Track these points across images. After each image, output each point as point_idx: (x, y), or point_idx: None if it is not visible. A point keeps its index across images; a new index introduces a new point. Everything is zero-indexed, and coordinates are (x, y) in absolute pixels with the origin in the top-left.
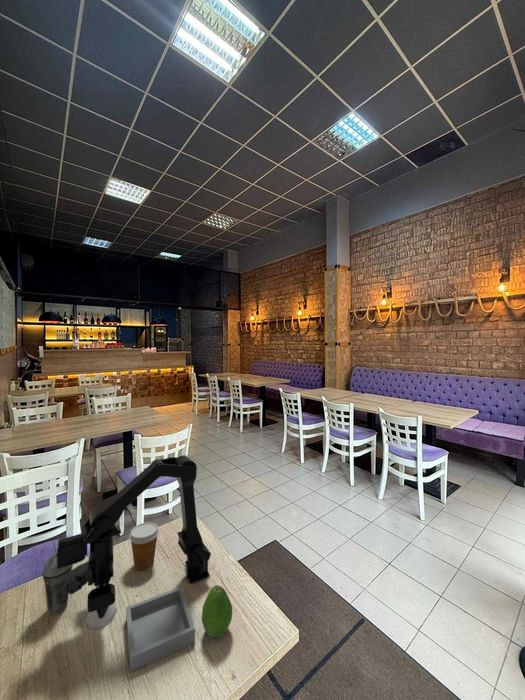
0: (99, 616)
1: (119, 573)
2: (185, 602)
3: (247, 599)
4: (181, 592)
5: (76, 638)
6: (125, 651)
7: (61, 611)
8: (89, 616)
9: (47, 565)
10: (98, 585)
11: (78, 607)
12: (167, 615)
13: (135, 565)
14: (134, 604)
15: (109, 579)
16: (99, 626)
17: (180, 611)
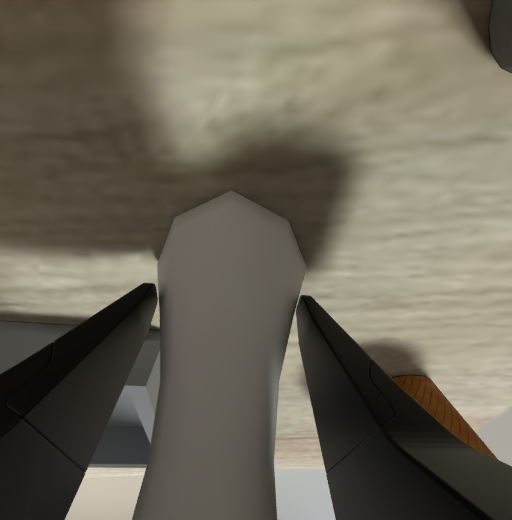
0: (131, 295)
1: (439, 340)
2: (100, 466)
3: (121, 468)
4: (145, 466)
5: (142, 127)
6: (10, 313)
7: (498, 11)
8: (215, 230)
9: None
10: (257, 501)
11: (407, 159)
12: (118, 409)
13: (408, 393)
14: (149, 403)
15: (327, 463)
16: (162, 254)
17: (121, 425)
